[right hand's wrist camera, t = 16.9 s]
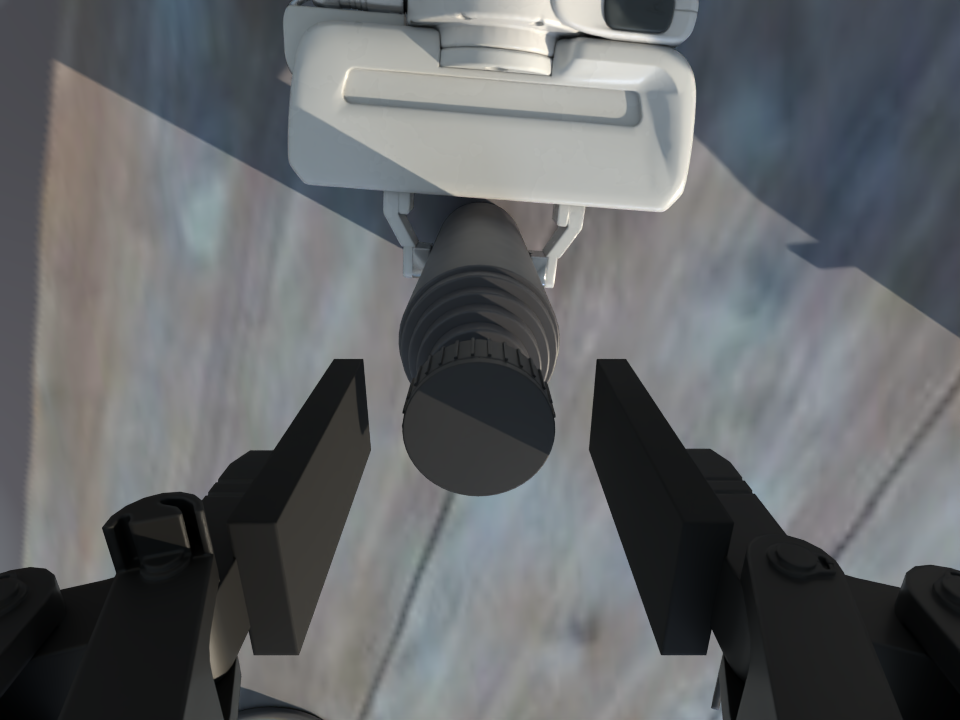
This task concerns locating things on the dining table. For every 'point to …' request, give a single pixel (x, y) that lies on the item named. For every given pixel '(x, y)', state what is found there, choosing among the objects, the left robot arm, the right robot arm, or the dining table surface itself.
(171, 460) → the dining table surface
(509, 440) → the cap
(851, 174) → the dining table surface
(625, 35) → the left robot arm
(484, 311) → the bottle
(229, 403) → the dining table surface
